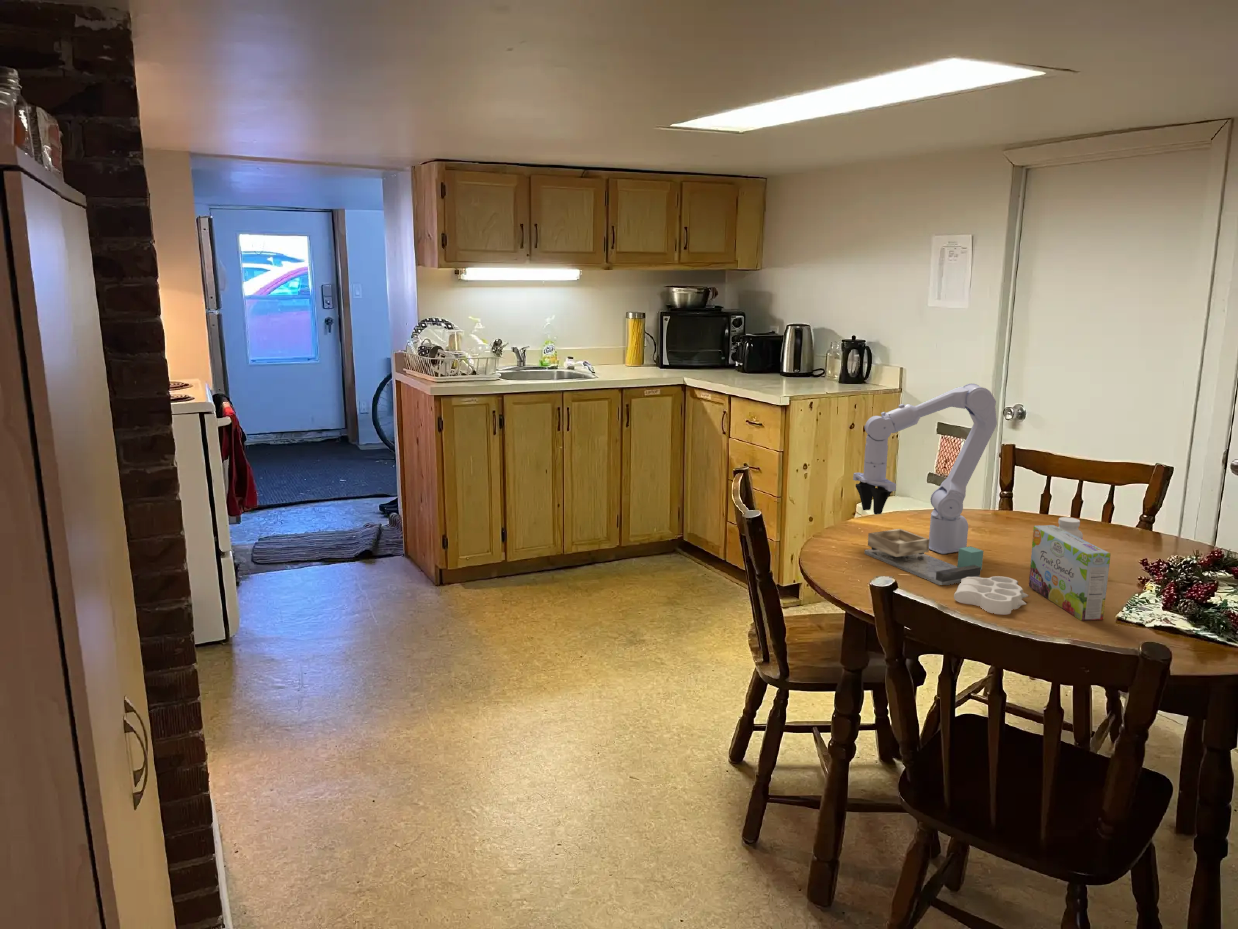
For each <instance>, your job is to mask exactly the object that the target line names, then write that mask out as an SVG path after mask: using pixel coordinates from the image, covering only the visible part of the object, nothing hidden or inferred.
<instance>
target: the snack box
mask: <svg viewBox="0 0 1238 929" xmlns="http://www.w3.org/2000/svg"><path fill="white" fill-rule="evenodd" d="M1058 527H1059V526H1057V525H1053V524H1049V525H1034V526H1033V532H1032V542H1031V544H1032V546H1031V555H1030V567H1029V568H1030V569H1029V578H1028V579H1029V580H1028V588H1031V589H1032V590H1034V591H1035V592H1037V593H1039V595H1041V596H1043V597H1045V598H1046V599H1047V600H1049V601H1050V602H1052V603H1053V604H1055V605H1056V606H1058V607H1059V608H1060V609H1063V610H1064V611H1066V612H1067V613H1069V614H1070V615H1071V616H1073V617H1075V618H1076V619H1078V620H1079V621H1081V622H1084V621H1100V620H1101V621H1103V620H1104V616H1105V615H1104V614H1105V606H1106V597H1107V588H1108V579H1109V571H1110V562H1111V553H1110V552H1109V551H1107V550H1105V549H1102V548H1100V547H1099V546H1096V545H1094V544H1092V543H1090V542H1089V541H1087V540H1084V539H1080V538H1078V537H1077V536H1075V535H1072V534H1070V533H1069V532H1067V531H1065V530H1062V529H1060V528H1058Z"/></svg>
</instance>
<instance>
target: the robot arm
mask: <svg viewBox="0 0 1238 929" xmlns="http://www.w3.org/2000/svg"><path fill="white" fill-rule="evenodd" d="M996 404H997V400H996V399H995V397H994V395H993V393H992V392H991V391H990V390H989V389H988V388H986V387H983V386H980V385H978V384H977V383H967V384H965V385H963V386H959V387H955V388H952V389H950V390H947V391H945V392H943V393H942V394H939V395H937V396H935V397H933V398H930V399H927V400H926V401H924V402H921V403H919V404H916V405H913V404H910V403H907V404H904V403H900V404H898V407H897V408H895V409H892V410H890V411H887V412H886V411H883V412H880V415H872V416H871V417H869V418H868V420H867V421H866V422H865V424H864V425H863V426H864V430H865V433H866V437H865V448H864V460H863V472H854V473H853V475H852V480H853V481H858V482H859V483H856V484H855V488H856V490H857V493H858V495H859V498H860V503H861V508H862V511H870V510H871V509H873V515H882V513H883V510H884V508H885V505H886V502H887V501H888V498H889V497H890V496H891V494H892V493H893V492H895V491H897V483H896V482H893V481H891V480H889V479H888V478H887V467H888V450H889V444H888V441H889V438H890V436H891V434H895V433H898V432H901V431H904V430H905V429H908V428H910V427H912V426H915V425H917V424H918V423H919V421H920V419H921V418H924V417H926V416H928V415H931V414H934V413H936V412H940V411H943V410H945V409H948V408H955V409H956V408H957V409H963V410H966V411H967V412H968V414H969V415H970V418H971V420H972V422H973V425H972V427H971V429H970V431H969V433H968V434H967V437H966V439H965V440H964V443H963V444H962V447H961V448H960V452H959V453H958V455H957V457H956V459H955V461H954V463H953V465H952V467H951V469H950V472H949V474H948V475H947V477H946V478H945V479H944V480H943V481H942V482H941V484H940V485H939V487H938V488H937V489H935V490H934V491H933V492H932V494H931V496H930V504H931V506H932V507H933V510H932V511H931V513H930V523H929V534H928V535H929V536H928V539H930V540H929V551H930V550H931V551H933V552H936V553H938V554H941V555H947V554H952V553H959V548H964V547H968V546H967V544H968V535H969V523H968V520H967V519H966V517H965V516H963V515H962V512H963V510H964V500H965V499H966V493H967V485H968V484H969V482H970V479H971V478H972V476H973V473H974V472H975V470H976V468H977V466H978V463H979V462H980V460H981V458H982V455H983V453H984V451H985V449H986V448H987V445H988V443H989V442H990V440H991V438H992V435H993V433H994V431H995V429H996V428H997V425H998V422H997V420H998V419H997V411H996V406H997V405H996ZM872 502H873V505H872ZM872 506H873V508H872Z"/></svg>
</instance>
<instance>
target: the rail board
mask: <svg viewBox="0 0 1238 929" xmlns="http://www.w3.org/2000/svg"><path fill="white" fill-rule="evenodd" d="M864 555H866V556H869V557H870V558H871V557H872V558H874V559H877V560H879V561H881V562H884V563H886V564H888V565H890V566H893V567H895V568H897V569H901V570H902V571H904V572H907V573H909V572H910V574H912V575H914V576H916V575H917V576H916V577H919V578H921V579H923V578H924V580H926V579H927V580H926V581H928V582H931V583H933V584H935V585H937V586H940V585H946V586H950V584H951V585H956V583H957V584H960V582H961V579H963V578H966V577H980V578H981V571H982V570H981V567H979V566H976V565H971V566H965V567H957V565H954V564H952V563H949V562H947V561H944V560H941V559H939V558H936V557H933V556H931V555H928V554H925V553H924V554H912V555H906V556H900V557H898V558H895V559H893V558H892V555H890V554H887V553H885V552H882V551H880V550H878V549H877V550H872V548H869V549H864ZM954 583H955V584H954Z"/></svg>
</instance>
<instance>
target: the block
mask: <svg viewBox="0 0 1238 929" xmlns="http://www.w3.org/2000/svg"><path fill="white" fill-rule="evenodd" d="M957 554H958V555H957V565H956V566H957V567H965V566H971V565H976V566H979V567H981V571H982V569H983V559H984V550H982V549H980V548H976V547H973V546H967V547H964V548H959V552H957Z"/></svg>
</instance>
